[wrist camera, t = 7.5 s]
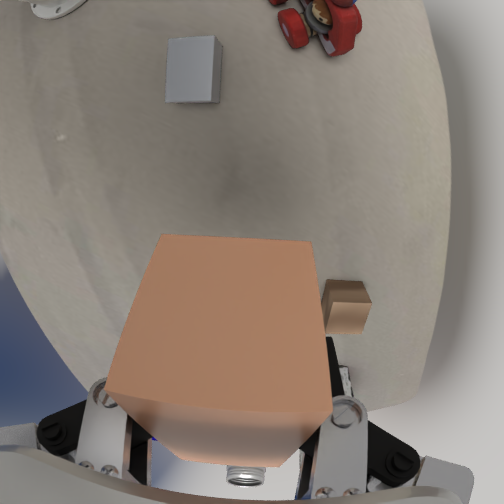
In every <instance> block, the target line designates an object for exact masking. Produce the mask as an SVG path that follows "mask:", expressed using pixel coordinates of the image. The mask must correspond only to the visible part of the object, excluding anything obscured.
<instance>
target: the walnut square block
mask: <svg viewBox="0 0 504 504" xmlns="http://www.w3.org/2000/svg"><path fill="white" fill-rule="evenodd" d="M371 305H372V302H371V300H370V298H369V295H368V293H367V291H366V289H365V287H364V285H363V282H361V281H344V280H326V285H325V290H324V294H323V298H322V303H321V307H322V314H323V322H324V329H325V333H326V334H361V333H362V331H363V328H364V325H365V322H366V320H367V317H368V314H369V311H370V308H371Z"/></svg>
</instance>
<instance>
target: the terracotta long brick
mask: <svg viewBox="0 0 504 504" xmlns="http://www.w3.org/2000/svg"><path fill="white" fill-rule="evenodd" d="M104 390H105V391H106V393H107V394H108V395H109V396H110V397H111V398H112V399H113V400H114V401H115V402H116V403H117V404H118V405H119V406H120V407H121V408H122V409H123V410H124V411H125V412H126V413H127V414H128V415H130V416H131V417H132V418H133V419H134V420H135V421H136V422H137V423H138V424H139V425H140V426H141V427H143V428H144V429H145V430H146V431H147V432H148V433H149V434H151V435H152V436H153V437H154V438H155V439H156V440H158V441H159V442H160V443H161V444H162V445H164V446H165V447H166V448H167V449H169V450H170V451H171V452H172V453H174V454H175V455H176V456H177V457H179V458H180V459H182V460H188V461H195V462H202V463H211V464H221V465H233V466H249V467H280V466H281V465H282V464H283V463H284V462H285V461H286V460H287V459H288V458H289V457H290V456H291V455H292V454H293V453H294V452H295V451H296V450H297V449H298V448H299V447H300V446H301V445H302V444H303V443H304V442H305V441H306V440H307V439H308V438H309V437H310V436H311V435H312V434H313V433H314V432H315V431H316V430H317V429H318V427H319V426H320V425H321V424H322V423H323V422H324V421H325V420H326V419H327V417H328V416H329V415H330V414H331V413H332V412H333V404H332V393H331V382H330V372H329V363H328V354H327V345H326V337H325V329H324V322H323V314H322V307H321V300H320V293H319V286H318V280H317V273H316V267H315V261H314V255H313V249H312V243H311V242H309V241H291V240H273V239H255V238H235V237H215V236H194V235H171V234H161V237H160V239H159V241H158V243H157V246H156V248H155V250H154V253H153V255H152V257H151V260H150V262H149V264H148V267H147V269H146V272H145V274H144V276H143V279H142V281H141V284H140V286H139V289H138V291H137V294H136V297H135V299H134V302H133V304H132V307H131V310H130V312H129V315H128V318H127V320H126V323H125V326H124V329H123V332H122V334H121V337H120V340H119V343H118V346H117V349H116V352H115V355H114V358H113V361H112V364H111V367H110V371H109V374H108V377H107V380H106V384H105V387H104Z"/></svg>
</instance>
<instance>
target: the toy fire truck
mask: <svg viewBox="0 0 504 504" xmlns="http://www.w3.org/2000/svg"><path fill="white" fill-rule="evenodd" d="M269 1H270V2H271V3H272V4H274V5H277V4H280V3H284V2H286V1H288V0H269ZM356 1H357V0H301V2H302V4H303V6H304V8H305V12H304V13H300V14H299V13H298V12H297V11H296V10H295V9H294V8H289V9H285V10H281V11H279V12H278V20H279V23H280V26H281V29H282V31H283V34H284V36H285V38H286V40H287V41H288V43H289V44H290V46H291V47H292V48H299V47H302V46H306V45H307V44H308V43H309V38H308V37H309V36H310V37H312V36H313V35H316V34H318V35H319V38H320V40H321V42H322V44H323V46H324V48H325V50H326V52H327V54H328V55H329V56H338V55H343V54H345V53H347V52H348V51H350V50H352V49H353V48H354V42H355V36H356V34H358V33H359V32H360V31H361V29H362V19H361V15H360V13H359V10H358V9H357V7H356V5H355V4H354V3H355V2H356Z"/></svg>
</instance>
